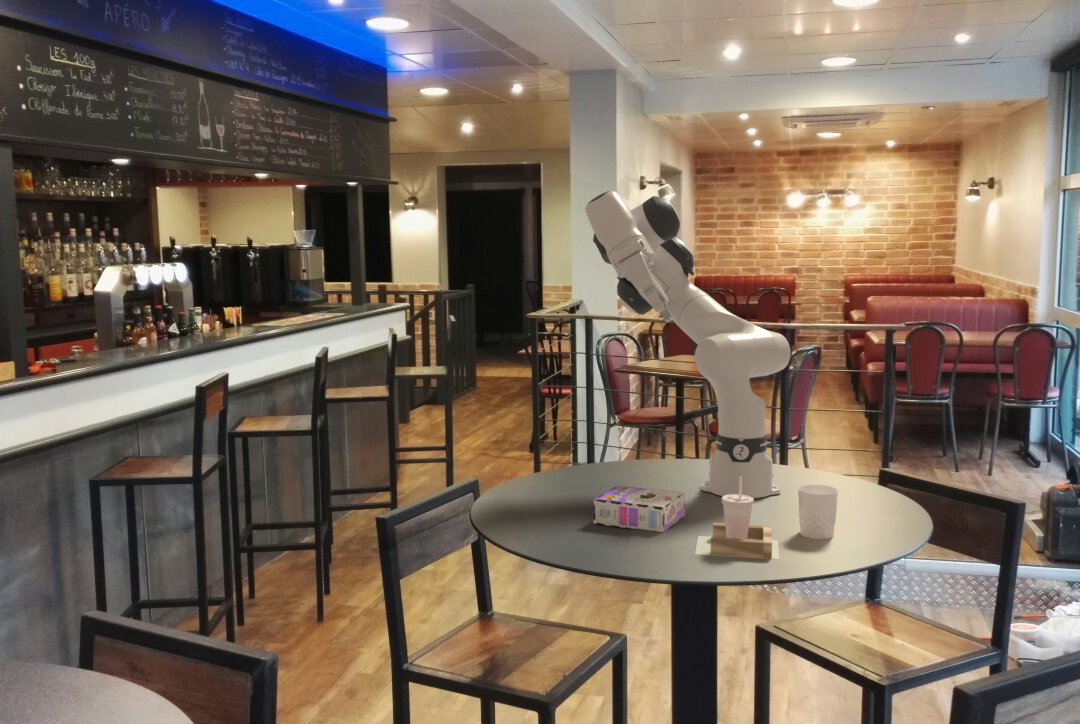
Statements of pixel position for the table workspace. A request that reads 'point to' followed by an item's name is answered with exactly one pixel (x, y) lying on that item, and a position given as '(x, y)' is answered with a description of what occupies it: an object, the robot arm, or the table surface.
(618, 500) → the candy box
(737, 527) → the smoothie
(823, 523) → the white cup
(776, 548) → the mat
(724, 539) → the rack
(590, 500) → the table surface
